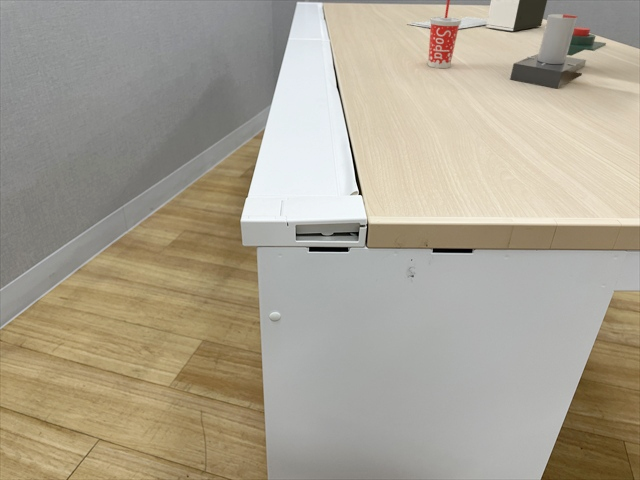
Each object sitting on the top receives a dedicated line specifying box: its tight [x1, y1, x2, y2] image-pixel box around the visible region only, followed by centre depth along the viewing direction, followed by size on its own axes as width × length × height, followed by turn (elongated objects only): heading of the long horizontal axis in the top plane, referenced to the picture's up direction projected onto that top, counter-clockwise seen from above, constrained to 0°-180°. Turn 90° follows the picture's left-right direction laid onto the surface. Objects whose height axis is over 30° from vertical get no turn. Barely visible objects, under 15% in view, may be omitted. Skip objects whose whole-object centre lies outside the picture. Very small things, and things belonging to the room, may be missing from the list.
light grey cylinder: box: [537, 13, 578, 64], centre depth 92 cm, size 5×5×8 cm
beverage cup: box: [427, 0, 461, 69], centre depth 99 cm, size 6×6×14 cm
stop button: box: [573, 26, 591, 36], centre depth 115 cm, size 4×4×2 cm
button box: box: [567, 33, 607, 57], centre depth 116 cm, size 10×10×4 cm
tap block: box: [509, 53, 587, 89], centre depth 95 cm, size 14×9×3 cm, turn 139°
